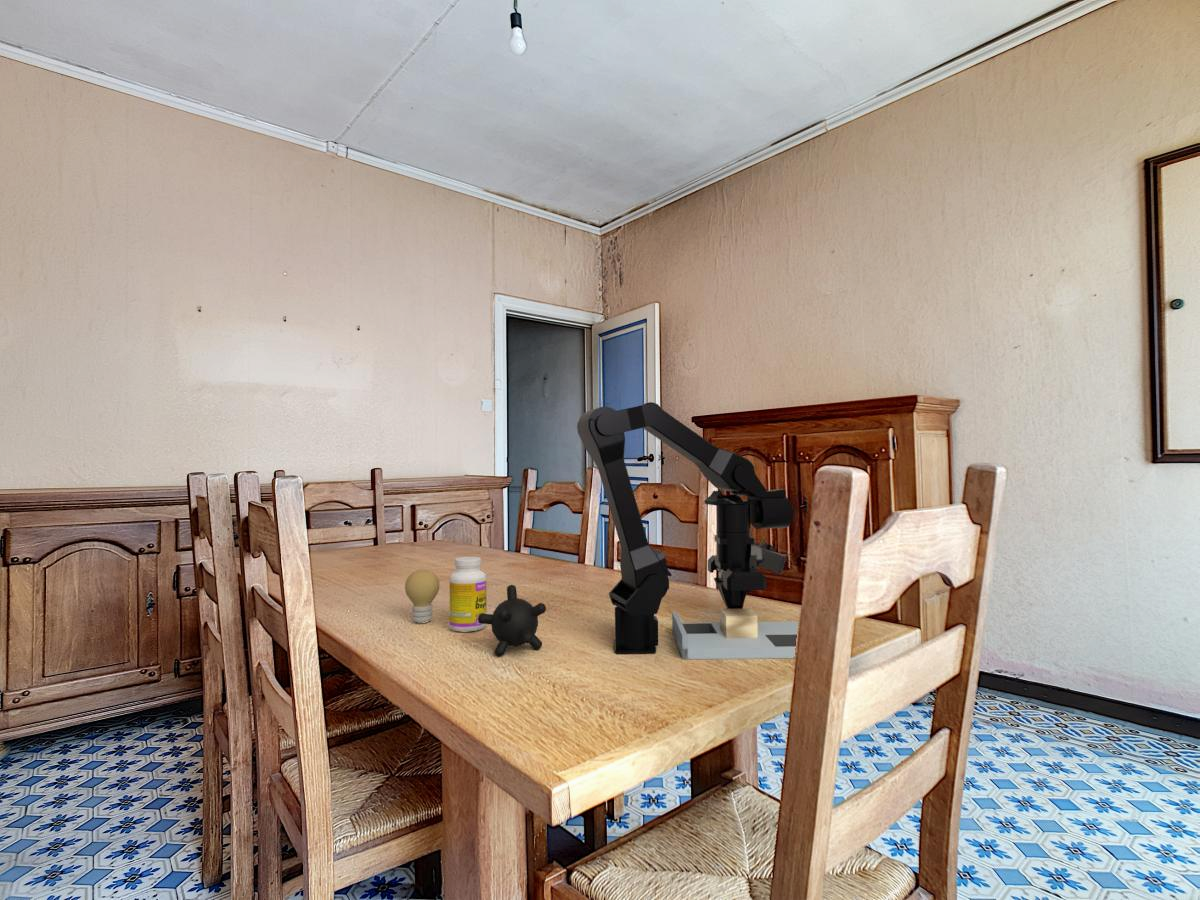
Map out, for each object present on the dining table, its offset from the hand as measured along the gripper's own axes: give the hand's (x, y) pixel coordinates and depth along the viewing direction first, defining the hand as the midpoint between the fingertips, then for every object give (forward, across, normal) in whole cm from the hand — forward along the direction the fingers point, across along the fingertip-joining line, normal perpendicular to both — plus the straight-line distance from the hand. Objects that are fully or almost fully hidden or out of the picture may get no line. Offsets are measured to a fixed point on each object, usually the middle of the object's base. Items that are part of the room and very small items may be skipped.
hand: (735, 622), depth 104 cm
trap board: (+2, -4, -1) cm, 5 cm away
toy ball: (+3, -6, +37) cm, 37 cm away
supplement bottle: (+3, +8, +47) cm, 48 cm away
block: (+1, -4, 0) cm, 4 cm away
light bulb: (+3, +13, +57) cm, 59 cm away
